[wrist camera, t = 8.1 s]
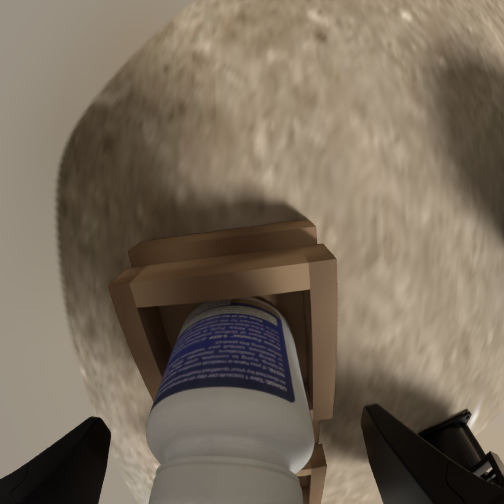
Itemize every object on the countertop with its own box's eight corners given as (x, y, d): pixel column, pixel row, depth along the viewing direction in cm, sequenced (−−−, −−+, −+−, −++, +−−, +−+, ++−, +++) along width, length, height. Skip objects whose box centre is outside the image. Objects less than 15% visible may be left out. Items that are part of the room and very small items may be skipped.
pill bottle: (159, 327, 13) (83, 489, 4) (251, 269, 12) (250, 472, 3) (226, 395, 14) (212, 546, 5) (312, 353, 13) (358, 520, 5)
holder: (314, 219, 13) (335, 238, 9) (315, 478, 20) (319, 507, 16) (135, 242, 13) (102, 267, 10) (225, 485, 20) (223, 514, 17)
